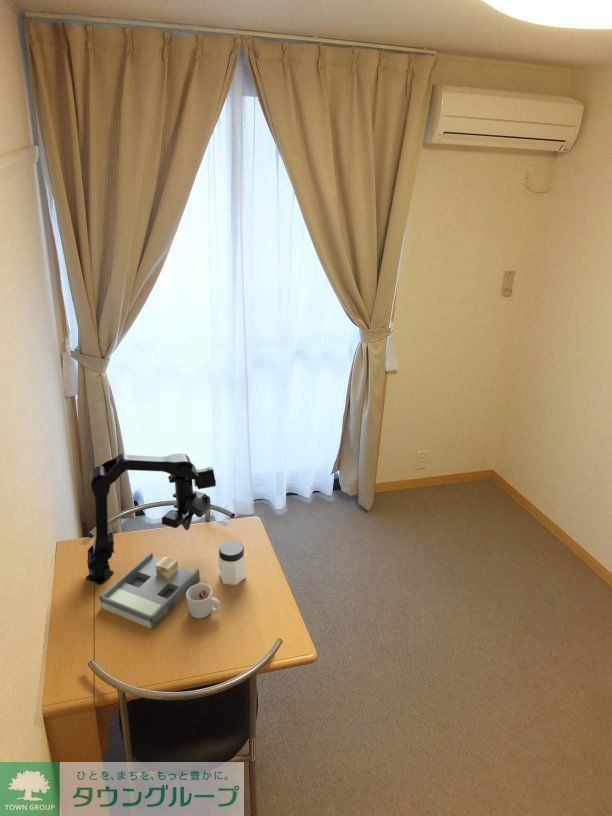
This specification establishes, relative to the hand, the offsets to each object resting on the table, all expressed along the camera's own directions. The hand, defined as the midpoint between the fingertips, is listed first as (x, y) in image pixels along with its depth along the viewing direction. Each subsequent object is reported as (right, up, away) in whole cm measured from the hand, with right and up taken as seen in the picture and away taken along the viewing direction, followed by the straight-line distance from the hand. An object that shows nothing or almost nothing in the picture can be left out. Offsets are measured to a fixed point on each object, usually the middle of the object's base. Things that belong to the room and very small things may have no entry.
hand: (187, 529), depth 188 cm
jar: (+16, -15, -4) cm, 23 cm away
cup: (+10, -22, -19) cm, 31 cm away
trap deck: (-9, -18, -12) cm, 23 cm away
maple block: (-5, -13, -6) cm, 15 cm away
